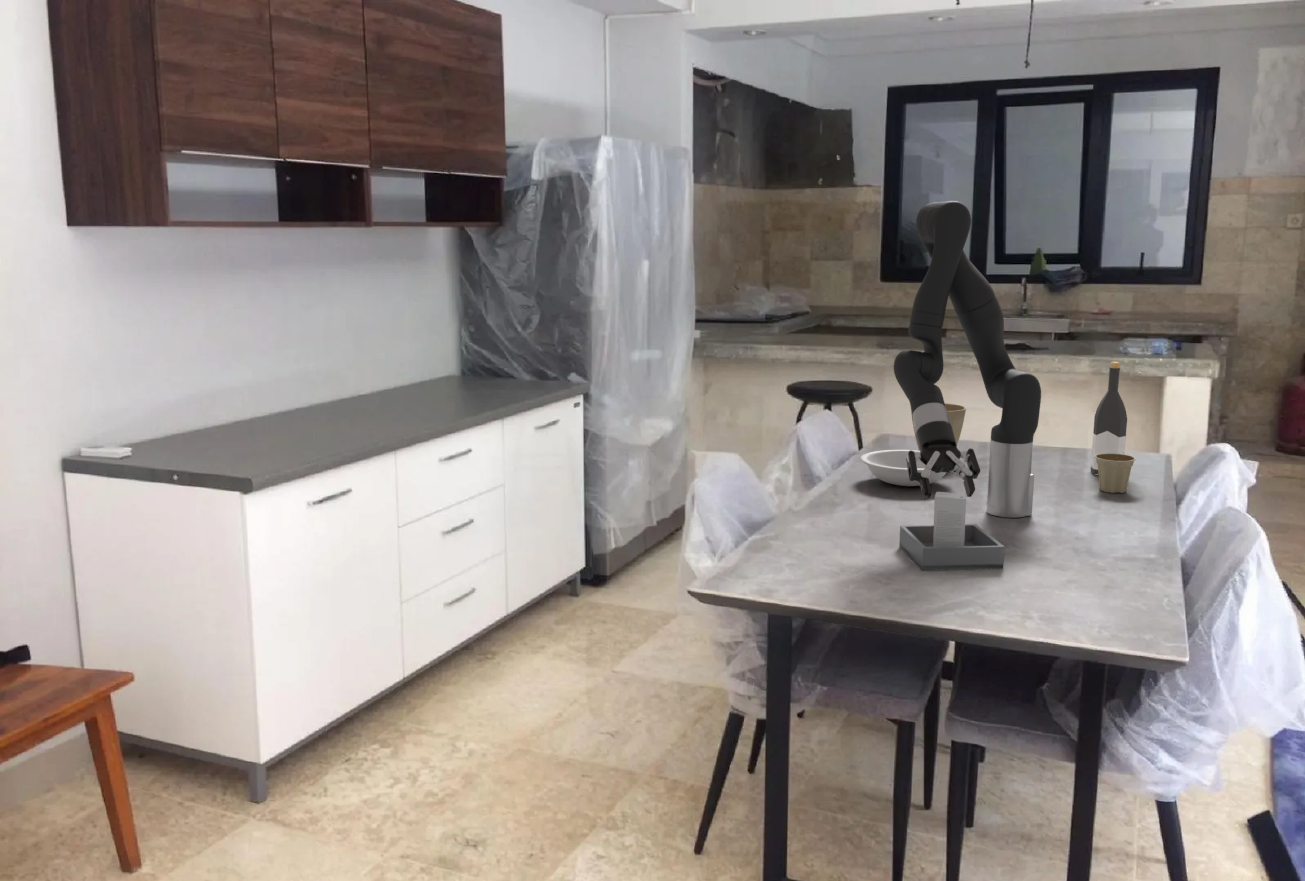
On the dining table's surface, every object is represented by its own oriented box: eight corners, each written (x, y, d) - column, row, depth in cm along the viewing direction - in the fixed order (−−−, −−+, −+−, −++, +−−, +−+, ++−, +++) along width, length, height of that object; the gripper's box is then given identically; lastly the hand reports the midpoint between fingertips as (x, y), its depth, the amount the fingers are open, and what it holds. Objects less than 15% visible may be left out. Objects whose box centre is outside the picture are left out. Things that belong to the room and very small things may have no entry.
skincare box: (964, 550, 216) (967, 493, 213) (963, 556, 212) (966, 498, 209) (933, 547, 217) (935, 490, 215) (931, 554, 213) (934, 496, 211)
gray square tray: (974, 544, 223) (976, 524, 222) (1003, 568, 207) (1004, 546, 206) (899, 546, 222) (900, 525, 221) (922, 570, 206) (923, 548, 206)
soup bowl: (941, 499, 260) (942, 473, 258) (847, 488, 271) (847, 463, 270) (965, 479, 280) (966, 454, 279) (876, 469, 292) (877, 446, 290)
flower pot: (1092, 493, 265) (1094, 459, 263) (1092, 484, 273) (1094, 451, 271) (1133, 496, 261) (1136, 462, 259) (1132, 488, 270) (1135, 454, 268)
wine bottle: (1125, 472, 286) (1134, 361, 280) (1119, 478, 280) (1129, 364, 274) (1093, 469, 291) (1101, 359, 285) (1087, 474, 284) (1095, 362, 278)
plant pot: (961, 458, 305) (964, 403, 302) (964, 469, 291) (967, 412, 288) (908, 456, 309) (910, 401, 306) (908, 467, 294) (910, 410, 291)
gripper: (904, 420, 221) (919, 487, 212) (971, 418, 222) (989, 484, 213) (896, 440, 227) (911, 506, 218) (962, 438, 228) (979, 503, 219)
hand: (949, 495), depth 216 cm, fingers open, 8 cm apart
